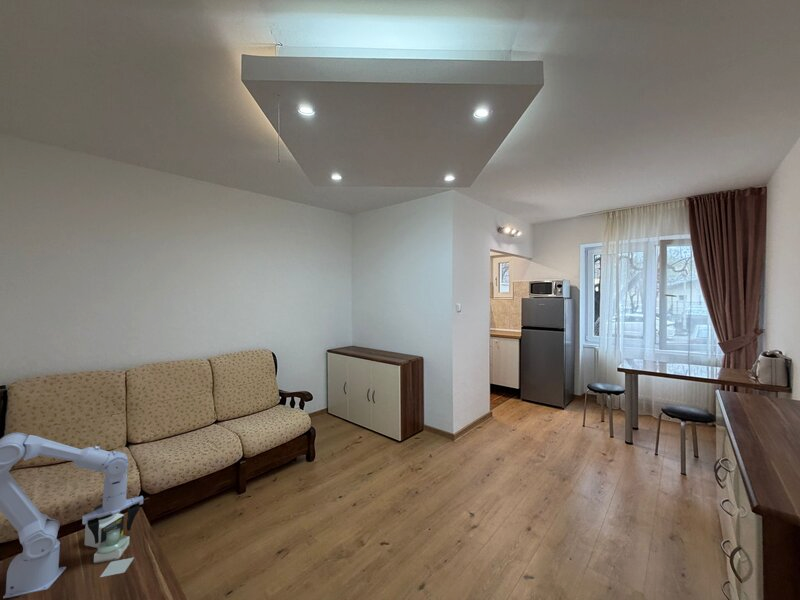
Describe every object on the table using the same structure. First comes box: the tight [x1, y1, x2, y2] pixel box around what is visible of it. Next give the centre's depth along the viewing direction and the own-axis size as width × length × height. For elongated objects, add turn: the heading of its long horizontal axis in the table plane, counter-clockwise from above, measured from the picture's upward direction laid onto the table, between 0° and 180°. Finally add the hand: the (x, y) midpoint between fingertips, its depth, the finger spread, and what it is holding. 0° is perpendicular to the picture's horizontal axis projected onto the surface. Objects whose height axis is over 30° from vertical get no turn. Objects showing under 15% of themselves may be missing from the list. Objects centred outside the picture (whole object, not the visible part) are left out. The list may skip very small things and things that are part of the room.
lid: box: [97, 529, 128, 554], centre depth 101 cm, size 7×7×4 cm
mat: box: [99, 556, 135, 578], centre depth 96 cm, size 6×6×1 cm
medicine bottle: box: [84, 502, 125, 549], centre depth 108 cm, size 7×7×12 cm
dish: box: [93, 536, 130, 564], centre depth 101 cm, size 6×6×3 cm
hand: (113, 535), depth 101 cm, fingers open, 7 cm apart
